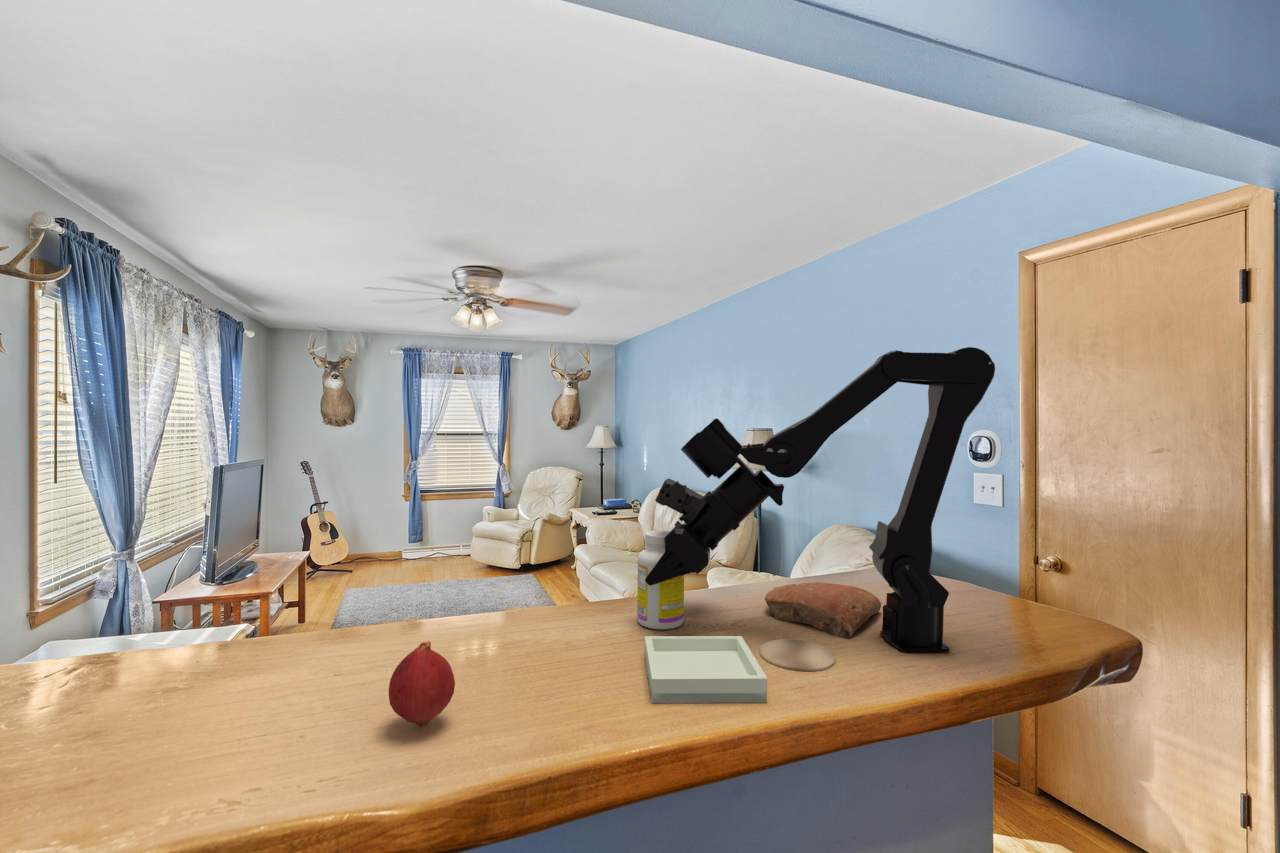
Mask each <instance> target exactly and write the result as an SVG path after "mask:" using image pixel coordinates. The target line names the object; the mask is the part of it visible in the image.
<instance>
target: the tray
mask: <svg viewBox="0 0 1280 853" xmlns="http://www.w3.org/2000/svg"><path fill="white" fill-rule="evenodd" d="M643 652H644V656H645V657H644V663H646V664H645V668H646V675H647V676H646V677H647V681H648V687H649V694H650V702H651V704H719V703H720V704H721V703H722V704H724V703H725V704H726V703H727V704H728V703H729V704H731V703H732V704H733V703H736V704H737V703H739V704H740V703H744V704H746V703H749V704H750V703H768V677H767V675H766V673H765V672H764V670H763V669H762V667H761V665H760V664H759V662H758V661H757V659H756V658H755V656H754V653H753V652H752V651H751V649H750V647H749V646H748V644H747V643H746V641H745V639H744V637H743V636H742V635H741V636H740V635H734V636H733V635H728V636H727V635H702V636H701V635H695V636H694V635H690V636H689V635H678V636H677V635H675V636H670V635H669V636H668V635H663V636H661V635H659V636H658V635H657V636H655V635H648V636H644V651H643Z"/></svg>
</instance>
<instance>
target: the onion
mask: <svg viewBox="0 0 1280 853" xmlns="http://www.w3.org/2000/svg"><path fill="white" fill-rule="evenodd" d="M431 645H432V643H431V641H430V640H423V641H421V642H420V643H419V644H418V646H417V647H416V648H415V649H413V651H411V652H409V653H408V654H407V655H406V656H404V658H403V659H402V660H401V661H400V662H399V663H398V665H397V666H396V667H395V669H394V671H393V673H392V675H391V677H390V680H389V684H388V699H389V700H388V701H389V705H390V707H391V708H392V711H393V712H394V714H396V715H397V716H399V718H400V717H401V718H402V719H403V720H405V721H407V722H409V723H412V724H414V725H416V726H418V727H425V726H427V725H429V724H430V722H431V721H432V720H434V719H435V718H436V717H437V716H439V715H440V714H441V713H442V712H443V711H444V710H445V709H446V708H447V706H448V705H449V704H450V703H451V700H452V698H453V695H454V693H455V688H456V687H455V686H456V682H455V676H454V672H453V669H452V666H451V664H450V663H449V661H448V660H447V658H445V657H444V656H442V655H441V654H440V653H438V652H437V651H435V650H433V649H432V647H431Z"/></svg>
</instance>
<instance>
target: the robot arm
mask: <svg viewBox="0 0 1280 853" xmlns="http://www.w3.org/2000/svg"><path fill="white" fill-rule="evenodd" d="M995 371H996V366H995V362H994V361H993V360H992V358H991V357H990V355H989V354H988V353H987V352H985V350H982V349H980V348H979V347H971V346H968V347H963V348H959V349H956V350H952V351H950V352H908V351H907V352H906V351H902V350H896V349H895V350H890V351H888V352H886V353H884V354H882V355H880V356H879V357H878V358H877V359H876V360H875V361H874V363H873V364H872V365H871V366H869V367H868V368H867V369H866V370H864V371H863V372H862V373H861V374H859V375H858V376H857V377H856V378H855V379H853V380H852V381H851V382H849V383H848V384H847V385H846V386H844V387H843V388H842V389H841V390H840V391H839V392H837V393H835V395H834V396H832V397H831V398H830V399H829V400H827V401H825V403H823V404H822V405H821V406H819V407H818V408H817V409H815V410H814V411H813V412H812V413H811V414H810V415H808V416H806V417H804V418H802V419H801V420H799V421H796V422H795V423H794V424H791V425H789V426H788V427H786V428H784V429H781V431H779V432H776V433H775V434H773V435H770V437H769V438H766V440H765V441H764V443H763V442H762V443H755V444H754V443H753V444H751V443H747V444H746V445H743V444H741V443H740V442H739V441H738V440H737V439H736V438H735V437H734V435H733V434H732V433H730V432H729V431H728V429H727V428H726V425H724V424H723V422H722V421H721V420H720V419H719V418H713V420H712V421H710V423H709V424H707V426H706V427H704V428H703V429H702V430H700V431H699V432H696V434H694V435H693V437H691V438H690V439H689V440H688V441H687V442H686V443H685V444H684V445H683V446H682V447H681V449H680V451H681V452H682V453H683V454H684V455H685V456H686V457H687V458H688V459H689V460H690V461H691V463H692V464H694V465H695V467H696V468H697V469H698V470H699V471H700V472H701V473H702V474H703V475H704V476H705V477H706V478H707V479H709V478H710V477H712V476H713V477H714V478H717V479H718V480H720V479H721V478H722V477H723V476H724V475H725V474H727V473H728V472H729V471H730V470H731V469H732V468H733V467H734V466H735V465H736V464H738V465H739V466H738V467H737V468H736V469H735V470H734V471H733V472H732V473H731V474H730V475H729V476H727V478H726V479H724V480H723V482H721V483H720V484H719V485H718V486H717V487H716V488H714V490H712V491H711V490H709V491H708V492H706V494H704V495H702V494H700V493H698V492H697V491H695V490H693V489H691V488H689V487H687V485H686V484H685V485H684V484H681V483H680V482H679V480H677V481H676V480H674V479H670V478H667V479H665V480H664V481H663V483H662V486H660V489H659V492H658V494H657V495H656V498H655V502H656V503H658V505H661V506H666V507H668V508H670V509H671V510H674V511H676V512H678V513H680V514H681V515H680V516H679V518H678V519H679V520H677V521H676V522H675V523H674V527H673V528H672V529H671V530H669V531H670V532H669V533H668V534H667V535H666V536H665V538H664V542H665V553H664V554H663V555H662V557H661V558H660V559H659V561H658V562H657V564H656V565H655V566H654V568H653V569H652V570H651V572H650V573H649V574H648V576H647V577H646V579H645V582H646V583H647V584H648V585H650V586H651V585H654V584H657V583H660V582H663V581H666V580H669V579H672V578H675V577H679V576H682V575H684V576H686V575H690V574H694V573H695V574H696V575H698V574H700V573H701V572H702V571H703V570H704V569H705V568H706V567H707V566H709V563H710V560H711V551H712V552H713V551H714V550H715V549H716V548H717V547H718V546H719V543H720V542H721V541H723V539H724V538H726V536H728V535H729V534H730V532H732V531H735V530H737V529H738V528H739V527H740V525H741V522H743V520H745V519H746V518H747V517H748V516H750V514H752V513H753V512H754V511H755V510H756V509H757V508H758V507H759V506H760V505H761V504H763V503H764V502H765V501H766V500H767V499H768V498H769V497H770V498H771V500H773V502H774V503H775V504H776V505H777V506H780V507H781V506H782V505H783V503H784V501H783V493H784V490H785V486H784V484H783V483H774V481H773V480H772V479H771V478H770V477H769V476H767V474H765V472H764V470H762V469H759V470H758V471H756V472H754V471H753V470H752V468H750V467H749V466H748V465H747V464H746V463H745V462H744V461H743V460H742V459H741V458H740V457H739V455H741V456H742V457H743V458H744V459H745V460H746V461H747V462H748V463H750V464H753V465H756V466H762V467H764V468H765V469H766V471H767V472H768V473H769V474H771V475H772V476H775V477H777V478H783V479H786V478H792V477H794V476H795V475H797V474H799V473H800V472H801V471H802V470H803V469H804V468H805V466H807V464H808V463H809V462H810V461H811V459H813V457H814V456H815V455H816V454H817V452H818V451H819V450H820V448H821V447H822V446H823V445H824V444H825V442H826V441H827V440H828V439H829V438H830V437H831V436H832V435H833V434H834V433H835V432H836V431H837V430H839V429H840V428H842V426H844V425H846V423H848V422H849V421H850V420H852V419H853V418H854V417H855V416H856V415H858V414H859V413H861V411H864V409H866V408H867V407H868V406H869V405H871V403H873V402H874V401H875V400H877V399H878V398H879V397H880V396H882V395H883V394H884V393H885V392H887V391H888V390H889V389H890V388H892V387H893V386H894V385H895V384H897V383H905V384H913V385H921V386H922V385H923V386H928V391H927V395H928V396H927V398H928V399H927V400H928V402H927V403H928V414H927V415H928V416H927V419H926V422H925V424H924V425H925V426H924V428H923V431H922V434H921V437H920V438H921V439H920V440H919V444H918V447H917V449H916V453H915V456H914V460H913V462H912V466H911V468H910V473H909V475H908V479H907V482H906V485H905V487H904V491H903V494H902V497H901V500H900V502H899V506H898V510H897V511H896V514H895V515H894V517H893V518H892V520H891V521H889V523H888V524H887V523H885V522H882V521H877V525H876V529H875V530H876V531H875V536H874V539H873V541H872V542H871V544H870V545H869V547H868V548H869V549H870V550H871V551H872V557H871V559H872V563H873V566H874V567H875V569H876V571H877V572H878V573H879V574H880V576H881V577H882V578H883V579H884V580H885V582H886V583H887V584H888V587H889V588H891V590H893V592H887V593H886V600H885V601H886V604H884V605H882V624H881V626H882V629H881V630H879V635H880V636H881V637H883V638H884V639H885V640H886V641H887V642H889V643H890V644H891V645H892V646H894V647H895V648H896V649H898V650H899V651H900V652H904V653H905V652H906V653H909V652H910V653H913V652H914V653H917V652H919V653H923V652H924V653H930V652H931V653H933V652H936V653H937V652H942V653H945V652H946V653H948V652H950V651H951V648H950V646H948V645H947V644H946V643H944V619H945V618H944V616H945V615H944V614H945V612H944V610H945V605H946V602H947V600H948V597H949V595H950V592H949V591H948V590H947V589H946V587H944V586H943V585H942V584H941V582H939V581H938V580H937V579H936V578H935V577H934V576H933V574H931V573H930V572H931V565H932V558H933V557H932V556H933V536H932V535H933V532H932V525H933V522H934V518H935V516H936V512H937V510H938V506H939V503H940V500H941V496H942V494H943V490H944V488H945V484H946V481H947V478H948V475H949V473H950V469H951V466H952V464H953V460H954V457H955V453H956V451H957V447H958V444H959V440H960V439H961V436H962V432H963V430H964V426H965V423H966V421H967V420H968V418H969V417H970V416H971V414H973V412H974V410H975V409H976V408H977V407H978V405H979V404H980V402H982V399H983V398H984V396H985V395H986V393H987V390H988V389H989V387H990V385H991V383H992V381H993V380H994V377H995ZM681 522H683V523H681Z"/></svg>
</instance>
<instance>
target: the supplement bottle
mask: <svg viewBox="0 0 1280 853" xmlns="http://www.w3.org/2000/svg"><path fill="white" fill-rule="evenodd" d="M670 531H671V530H650V531H646V532H645V534H644V542H645V545H646V547H645V549H643V550H641V551H640V552H639V554H638V556H637V592H636V593H637V598H636V599H637V602H636V603H637V604H636V605H637V606H636V608H637V609H636V610H637V611H636V614H637V621H638V623H639V624H640V625H641V626H643V627H644V626H645V628H647V627H648V629H653V630H662V631H663V630H672V629H673V630H674V629H676V628H678V627H680V626H682V624H683V622H684V618H685V617H684V616H685V611H684V610H685V606H684V605H685V575H682V576H679V577H675V578H672V579H669V580H666V581H663V582H660V583H657V584H654V585H651V586H650V585H648V584H647V583H646V582H645V579H646V577H647V576H648V574H649V573H650V572H651V570H652V569H653V568H654V566H655V565H656V564H657V562H658V561H659V559H660V558H661V557H662V555H663V554H664V553H665V542H664V538H665V536H666V535H667V534H668V533H669V532H670Z"/></svg>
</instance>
